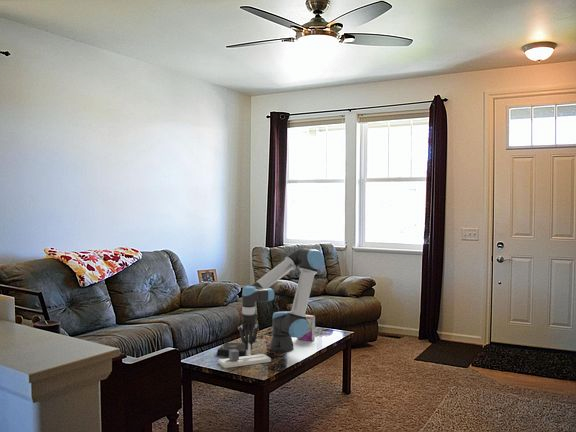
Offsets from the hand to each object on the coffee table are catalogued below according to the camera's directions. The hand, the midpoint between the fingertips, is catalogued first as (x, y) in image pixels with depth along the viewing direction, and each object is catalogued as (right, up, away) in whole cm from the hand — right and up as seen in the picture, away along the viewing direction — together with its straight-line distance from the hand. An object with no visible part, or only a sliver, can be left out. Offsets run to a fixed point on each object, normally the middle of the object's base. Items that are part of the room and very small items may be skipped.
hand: (248, 354), depth 292 cm
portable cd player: (-10, -4, +18) cm, 21 cm away
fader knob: (-8, -1, -4) cm, 9 cm away
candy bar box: (+35, -4, +52) cm, 63 cm away
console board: (-2, -4, -1) cm, 4 cm away
